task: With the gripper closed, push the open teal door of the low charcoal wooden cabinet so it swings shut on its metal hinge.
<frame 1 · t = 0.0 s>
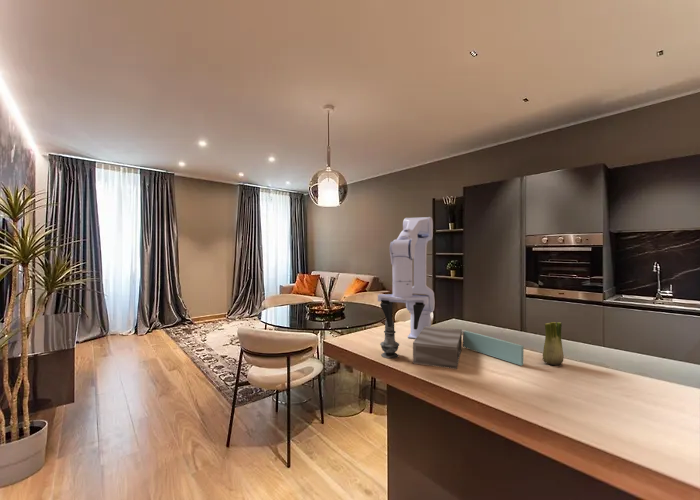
hand: (402, 327, 95), 10 cm above the table, tool pointing down, fingers open, 7 cm apart
fennel bulb: (553, 364, 92), on the table
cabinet: (439, 354, 101), on the table
door: (491, 345, 99), point 3 cm above the table, hinge at 55.0°
salt shaker: (389, 356, 100), on the table
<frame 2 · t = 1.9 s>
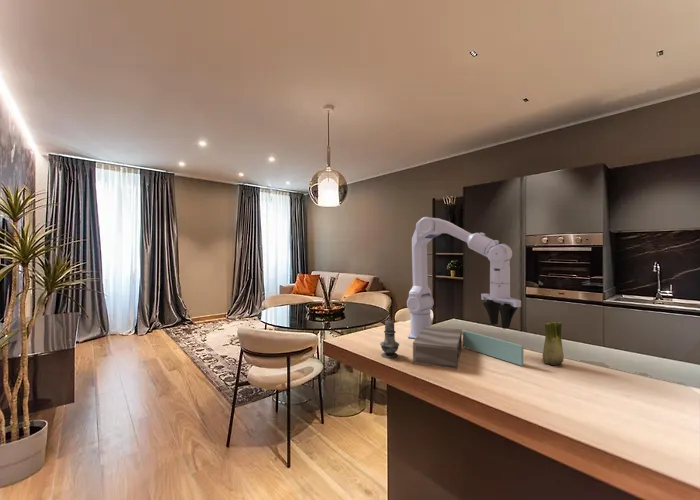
hand: (499, 326, 102), 8 cm above the table, tool pointing down, fingers open, 4 cm apart
nothing on the table moved.
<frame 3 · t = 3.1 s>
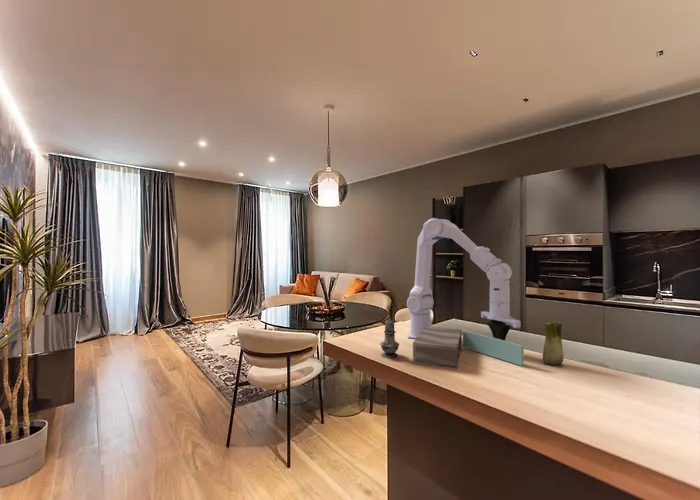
hand: (499, 345, 102), 2 cm above the table, tool pointing down, fingers closed
nothing on the table moved.
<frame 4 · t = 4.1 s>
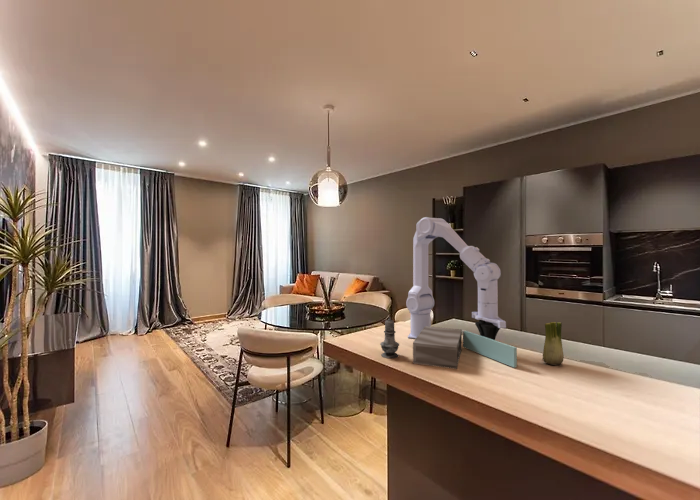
hand: (487, 345, 101), 2 cm above the table, tool pointing down, fingers closed
door: (488, 346, 99), point 3 cm above the table, hinge at 45.9°, touching gripper
everything else where it was.
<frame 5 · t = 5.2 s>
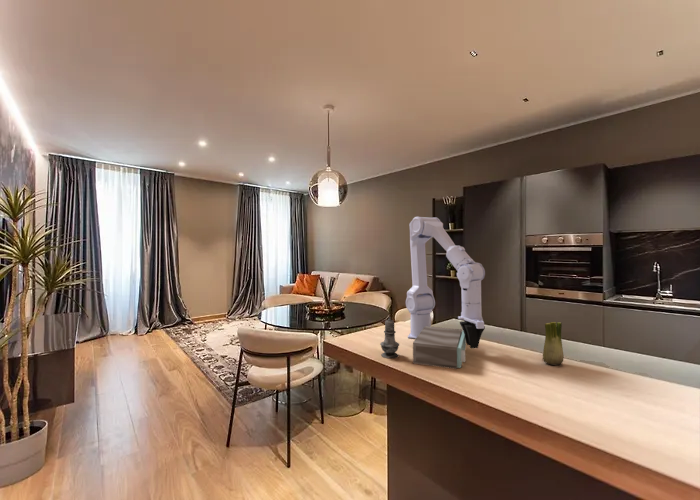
hand: (472, 346, 101), 3 cm above the table, tool pointing down, fingers closed
door: (463, 347, 98), point 3 cm above the table, hinge at -0.9°, touching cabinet, gripper
everything else where it was.
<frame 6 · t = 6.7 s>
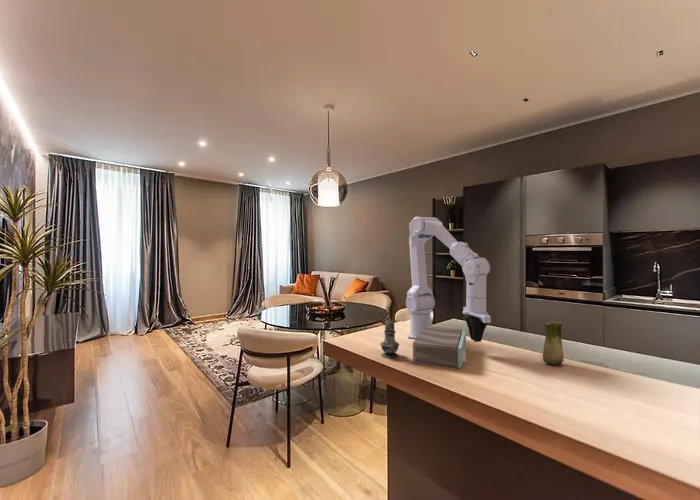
hand: (475, 340, 101), 4 cm above the table, tool pointing down, fingers closed
door: (463, 347, 98), point 3 cm above the table, hinge at -0.5°
everything else where it was.
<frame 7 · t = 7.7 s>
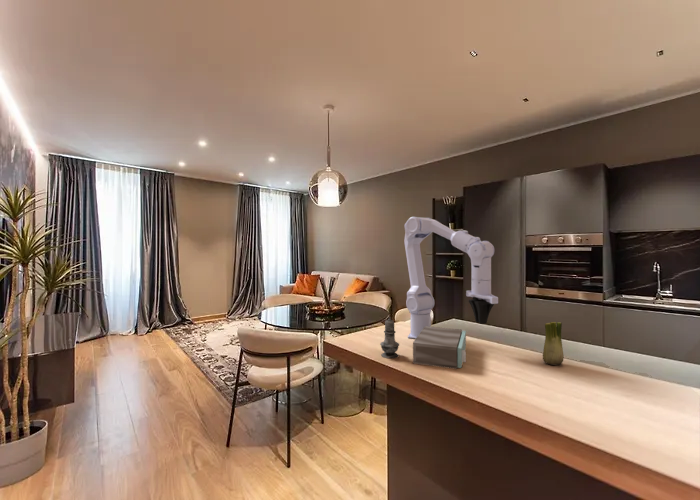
hand: (481, 322, 102), 9 cm above the table, tool pointing down, fingers closed
nothing on the table moved.
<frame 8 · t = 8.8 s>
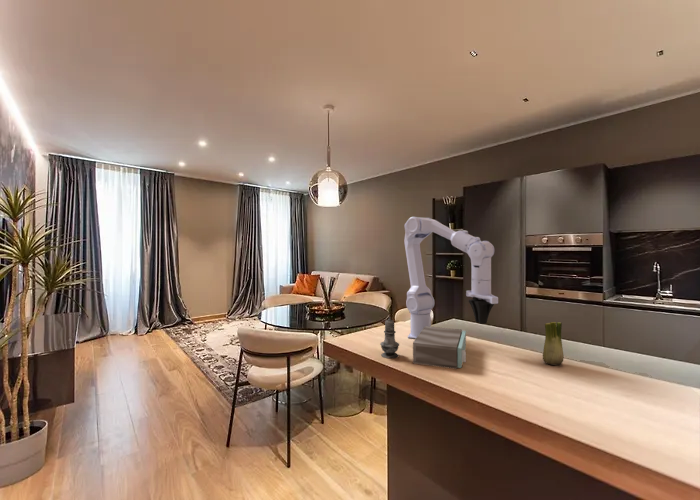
hand: (481, 322, 102), 9 cm above the table, tool pointing down, fingers closed
nothing on the table moved.
at the end: door at +0° (first picture: +55°); salt shaker moved 0.2 cm from its start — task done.
